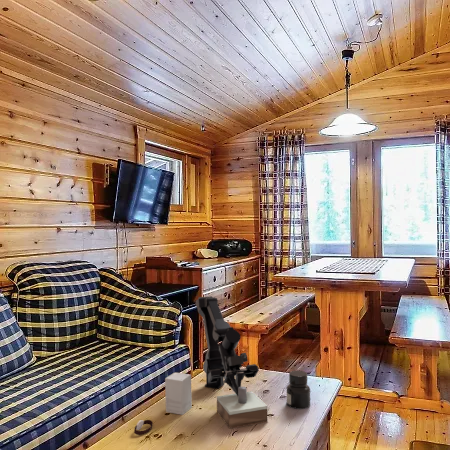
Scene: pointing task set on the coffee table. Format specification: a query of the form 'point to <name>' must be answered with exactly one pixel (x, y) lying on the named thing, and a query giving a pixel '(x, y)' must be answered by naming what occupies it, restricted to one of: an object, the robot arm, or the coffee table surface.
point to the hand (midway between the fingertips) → (239, 395)
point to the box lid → (241, 402)
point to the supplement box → (178, 393)
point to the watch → (141, 426)
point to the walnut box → (242, 417)
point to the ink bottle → (298, 390)
